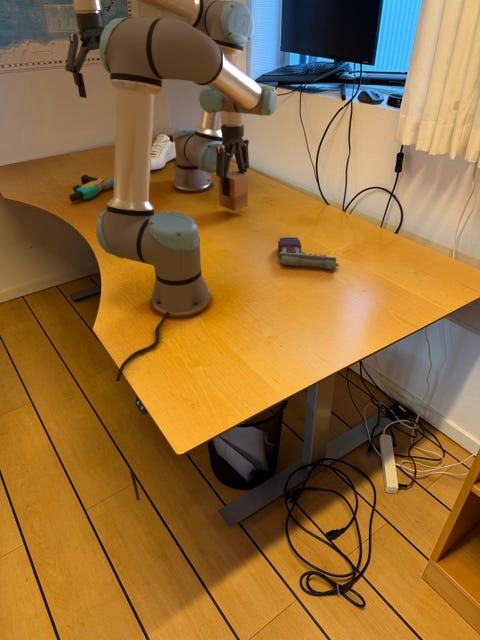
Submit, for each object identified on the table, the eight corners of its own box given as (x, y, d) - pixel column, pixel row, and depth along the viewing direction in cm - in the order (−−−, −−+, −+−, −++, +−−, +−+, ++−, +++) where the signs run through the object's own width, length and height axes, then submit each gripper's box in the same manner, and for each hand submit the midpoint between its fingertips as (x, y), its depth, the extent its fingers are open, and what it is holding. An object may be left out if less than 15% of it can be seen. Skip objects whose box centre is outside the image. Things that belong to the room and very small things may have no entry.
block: (247, 205, 171) (247, 175, 164) (234, 211, 167) (234, 179, 160) (232, 200, 175) (231, 170, 168) (219, 205, 171) (218, 174, 165)
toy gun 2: (339, 250, 148) (337, 274, 136) (279, 245, 151) (272, 268, 139) (340, 238, 146) (338, 262, 134) (280, 234, 149) (273, 256, 137)
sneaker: (133, 173, 208) (129, 144, 201) (161, 153, 230) (158, 127, 223) (155, 175, 205) (151, 146, 198) (180, 155, 227) (178, 129, 220)
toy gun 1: (47, 189, 181) (76, 196, 175) (93, 169, 199) (121, 175, 193) (49, 200, 183) (79, 207, 177) (95, 180, 202) (123, 186, 196)
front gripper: (244, 117, 163) (244, 183, 176) (202, 127, 151) (205, 197, 164) (260, 120, 159) (259, 188, 172) (219, 131, 147) (221, 202, 160)
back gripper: (117, 9, 144) (128, 86, 156) (41, 14, 129) (59, 98, 142) (132, 9, 139) (142, 89, 152) (55, 15, 125) (73, 102, 137)
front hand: (233, 192), depth 168 cm, fingers closed on block, 7 cm apart
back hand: (102, 93), depth 147 cm, fingers open, 13 cm apart
